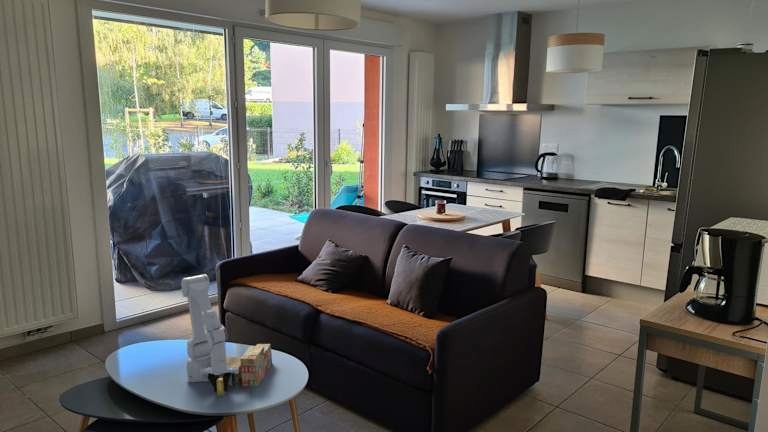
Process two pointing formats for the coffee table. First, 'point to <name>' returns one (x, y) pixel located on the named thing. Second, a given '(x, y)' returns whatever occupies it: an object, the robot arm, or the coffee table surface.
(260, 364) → the stack of blocks
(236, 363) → the open wooden box
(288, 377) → the coffee table surface
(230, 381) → the cube joystick
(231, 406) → the coffee table surface
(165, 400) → the coffee table surface
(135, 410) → the coffee table surface
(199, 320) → the robot arm
